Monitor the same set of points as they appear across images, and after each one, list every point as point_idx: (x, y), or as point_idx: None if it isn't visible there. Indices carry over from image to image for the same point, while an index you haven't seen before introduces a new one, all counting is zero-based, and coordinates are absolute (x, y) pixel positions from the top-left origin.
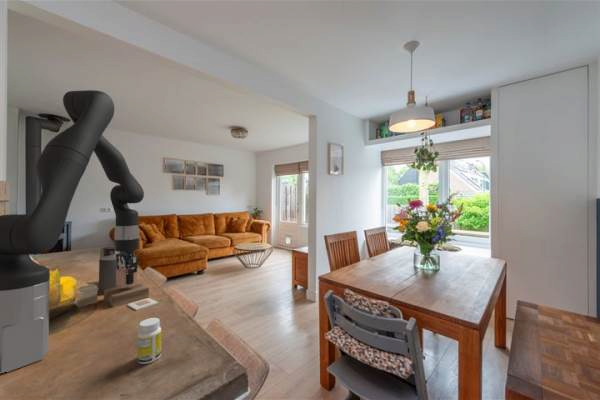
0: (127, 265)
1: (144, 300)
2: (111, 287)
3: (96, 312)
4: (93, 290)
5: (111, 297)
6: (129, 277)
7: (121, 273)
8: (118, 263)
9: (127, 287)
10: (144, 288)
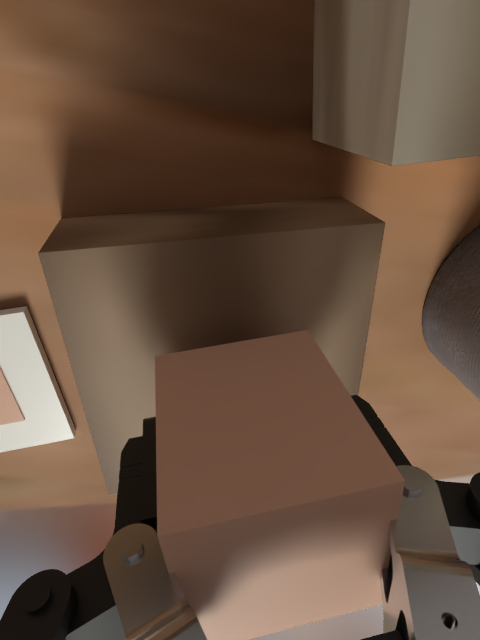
0: (385, 617)
1: (27, 411)
2: (471, 291)
3: (17, 71)
4: (374, 115)
5: (117, 238)
6: (121, 505)
7: (167, 501)
8: (477, 609)
9: None
10: None
